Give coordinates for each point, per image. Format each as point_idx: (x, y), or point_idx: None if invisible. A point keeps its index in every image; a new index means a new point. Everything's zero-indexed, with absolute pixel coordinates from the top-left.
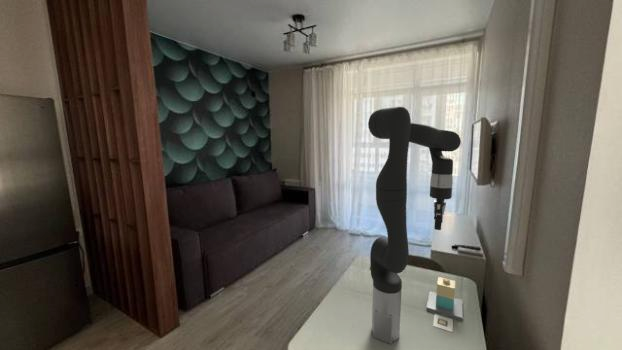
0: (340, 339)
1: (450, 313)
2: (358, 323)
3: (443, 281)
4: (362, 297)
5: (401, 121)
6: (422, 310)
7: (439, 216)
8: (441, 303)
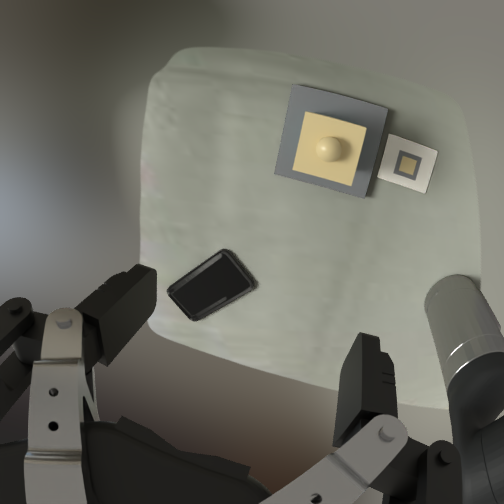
0: None
1: (376, 136)
2: (428, 346)
3: (333, 160)
4: (340, 342)
5: None
6: (367, 207)
7: (116, 329)
8: None
